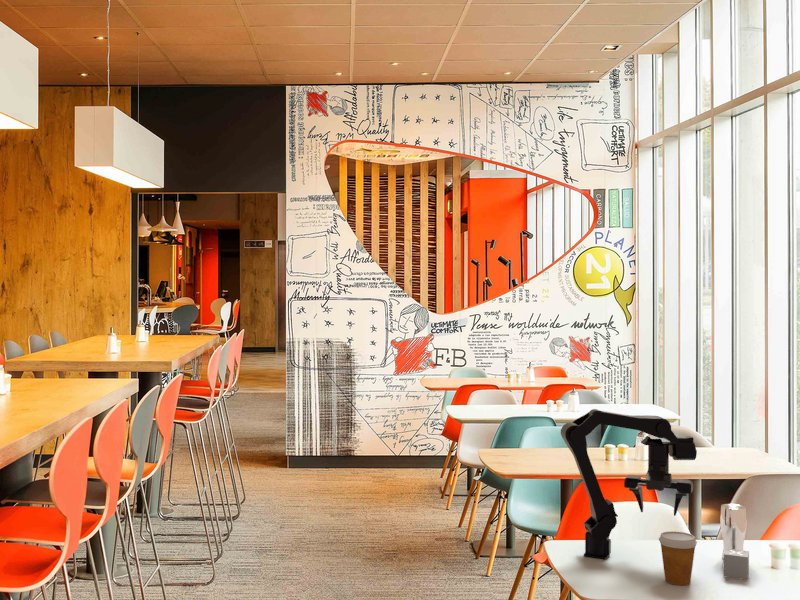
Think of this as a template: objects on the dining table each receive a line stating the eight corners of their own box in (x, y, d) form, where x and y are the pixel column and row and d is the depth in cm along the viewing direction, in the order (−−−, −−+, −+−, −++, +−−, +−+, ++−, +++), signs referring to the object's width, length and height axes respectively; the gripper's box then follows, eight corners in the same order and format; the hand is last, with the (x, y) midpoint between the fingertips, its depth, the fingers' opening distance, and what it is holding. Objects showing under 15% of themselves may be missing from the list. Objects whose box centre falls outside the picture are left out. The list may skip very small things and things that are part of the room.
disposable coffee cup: (696, 578, 220) (696, 532, 220) (697, 589, 211) (697, 542, 211) (659, 574, 223) (659, 529, 223) (658, 585, 214) (658, 538, 214)
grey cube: (723, 576, 221) (723, 554, 221) (725, 570, 227) (725, 548, 227) (747, 579, 219) (747, 557, 219) (748, 573, 224) (748, 551, 224)
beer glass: (748, 563, 233) (748, 510, 233) (722, 561, 234) (722, 508, 234) (743, 556, 240) (743, 504, 240) (718, 554, 241) (718, 503, 241)
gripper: (620, 462, 237) (620, 516, 237) (689, 467, 229) (689, 524, 229) (627, 455, 247) (627, 508, 247) (693, 461, 239) (693, 515, 239)
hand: (658, 513), depth 240 cm, fingers open, 9 cm apart
